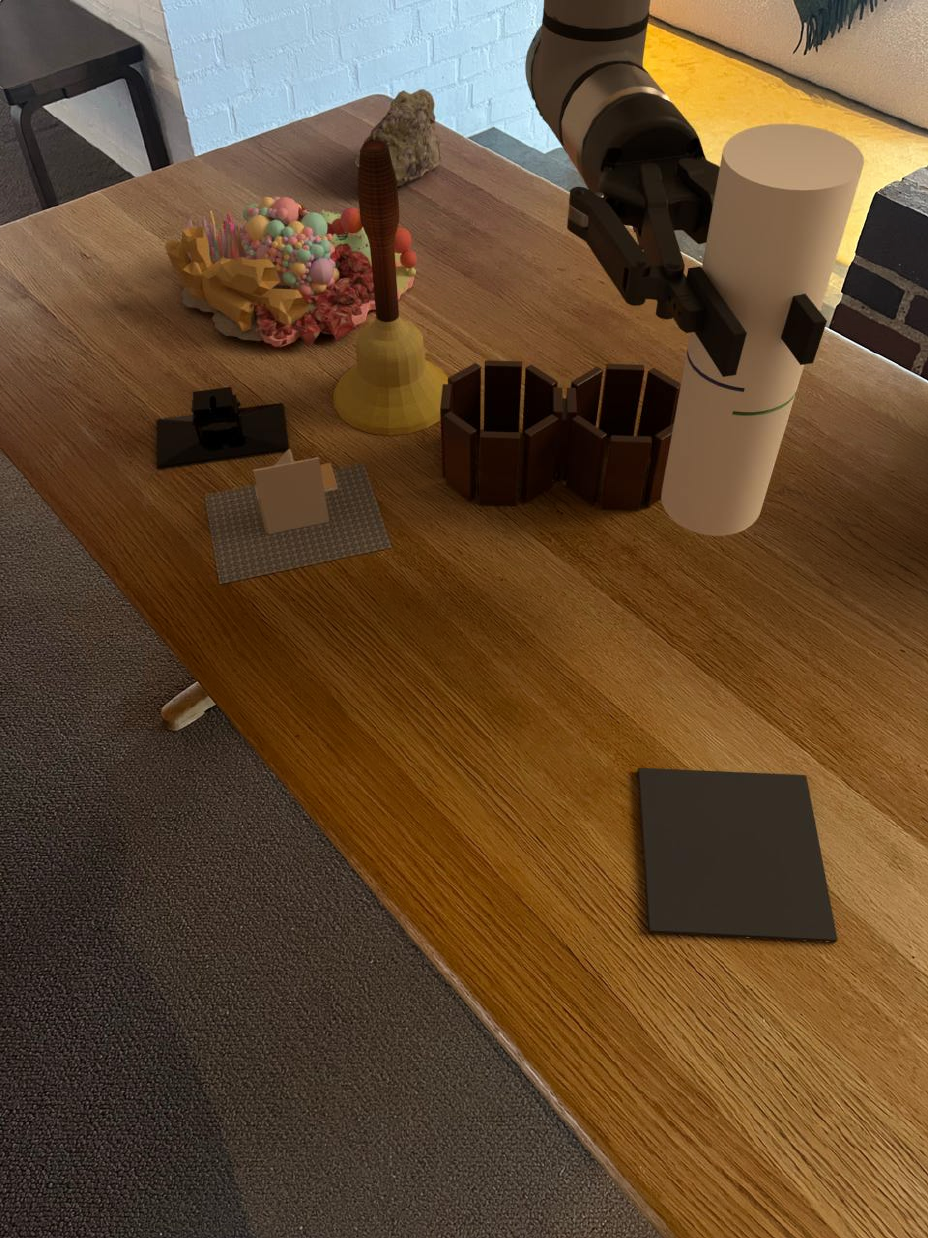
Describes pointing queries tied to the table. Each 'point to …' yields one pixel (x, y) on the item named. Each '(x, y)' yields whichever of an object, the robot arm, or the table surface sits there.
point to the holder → (557, 433)
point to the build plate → (220, 431)
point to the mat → (732, 856)
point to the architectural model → (294, 519)
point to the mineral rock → (409, 135)
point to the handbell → (386, 324)
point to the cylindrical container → (756, 316)
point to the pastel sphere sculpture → (284, 272)
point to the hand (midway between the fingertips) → (774, 348)
